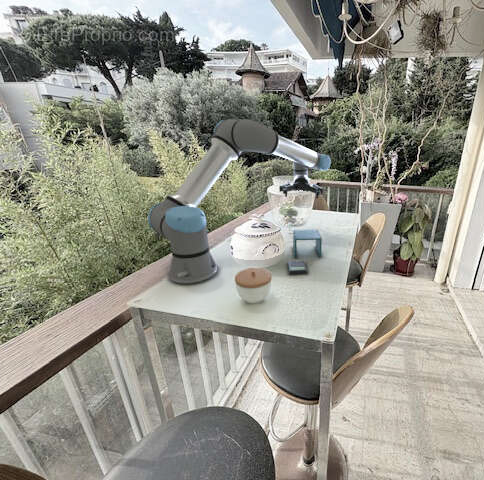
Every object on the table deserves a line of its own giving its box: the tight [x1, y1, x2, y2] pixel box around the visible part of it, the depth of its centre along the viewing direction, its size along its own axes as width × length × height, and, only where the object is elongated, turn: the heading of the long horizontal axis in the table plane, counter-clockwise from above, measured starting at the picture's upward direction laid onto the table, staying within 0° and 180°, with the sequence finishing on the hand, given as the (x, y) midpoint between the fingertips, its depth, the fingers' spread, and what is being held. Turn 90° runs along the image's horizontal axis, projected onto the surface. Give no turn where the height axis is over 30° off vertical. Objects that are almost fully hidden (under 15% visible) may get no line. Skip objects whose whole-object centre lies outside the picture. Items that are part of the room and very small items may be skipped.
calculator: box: [287, 260, 308, 275], centre depth 101 cm, size 8×6×2 cm
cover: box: [292, 229, 323, 259], centre depth 115 cm, size 11×11×8 cm
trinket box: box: [234, 267, 273, 304], centre depth 80 cm, size 11×11×9 cm
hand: (301, 194), depth 115 cm, fingers open, 13 cm apart
